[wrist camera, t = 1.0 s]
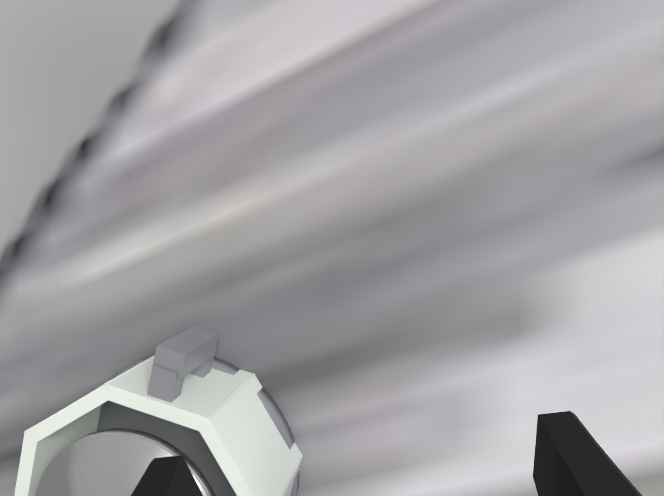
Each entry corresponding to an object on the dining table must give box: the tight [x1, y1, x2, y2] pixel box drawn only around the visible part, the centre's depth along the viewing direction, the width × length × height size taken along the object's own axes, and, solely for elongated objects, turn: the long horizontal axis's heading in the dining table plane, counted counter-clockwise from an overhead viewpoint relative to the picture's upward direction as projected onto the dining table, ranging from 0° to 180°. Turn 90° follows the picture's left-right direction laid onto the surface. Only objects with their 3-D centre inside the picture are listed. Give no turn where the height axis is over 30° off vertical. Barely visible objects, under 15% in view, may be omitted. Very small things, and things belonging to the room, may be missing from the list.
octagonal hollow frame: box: [14, 326, 303, 496], centre depth 23 cm, size 12×11×5 cm
